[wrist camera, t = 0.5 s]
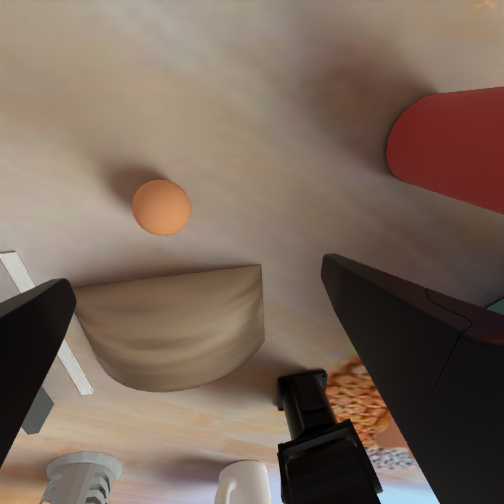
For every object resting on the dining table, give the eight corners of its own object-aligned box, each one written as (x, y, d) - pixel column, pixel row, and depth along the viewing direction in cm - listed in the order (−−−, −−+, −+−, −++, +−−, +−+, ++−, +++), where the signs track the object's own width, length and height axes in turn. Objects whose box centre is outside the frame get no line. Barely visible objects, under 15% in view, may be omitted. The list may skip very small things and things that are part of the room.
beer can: (366, 165, 21) (519, 210, 11) (415, 77, 19) (678, 25, 8) (423, 192, 23) (601, 253, 13) (474, 116, 21) (748, 113, 10)
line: (93, 391, 29) (93, 393, 29) (82, 393, 29) (81, 395, 29) (16, 251, 20) (14, 252, 20) (-1, 253, 20) (-3, 254, 20)
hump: (257, 262, 44) (294, 371, 25) (127, 277, 42) (57, 411, 23) (255, 206, 40) (297, 289, 20) (108, 221, 38) (-1, 329, 18)
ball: (196, 221, 21) (193, 241, 18) (147, 226, 21) (134, 248, 17) (187, 172, 19) (182, 184, 16) (133, 176, 19) (116, 189, 16)
